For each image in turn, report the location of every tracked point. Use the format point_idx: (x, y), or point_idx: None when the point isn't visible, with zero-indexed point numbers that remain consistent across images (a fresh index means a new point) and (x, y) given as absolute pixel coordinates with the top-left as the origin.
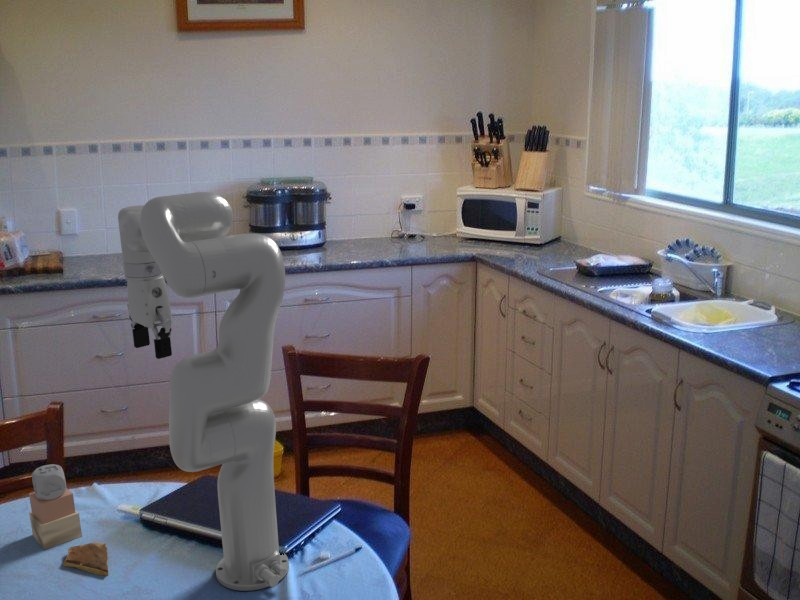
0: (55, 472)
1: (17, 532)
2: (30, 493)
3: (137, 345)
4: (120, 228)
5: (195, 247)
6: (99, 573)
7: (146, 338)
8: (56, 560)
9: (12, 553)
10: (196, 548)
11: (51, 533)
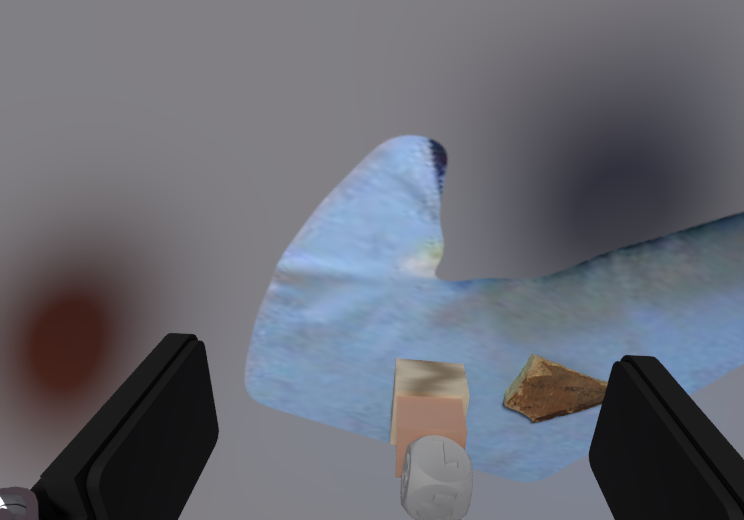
0: (465, 501)
1: (364, 422)
2: (397, 475)
3: (209, 440)
4: None
5: None
6: None
7: (175, 401)
8: (504, 417)
9: None
10: (696, 246)
11: None
